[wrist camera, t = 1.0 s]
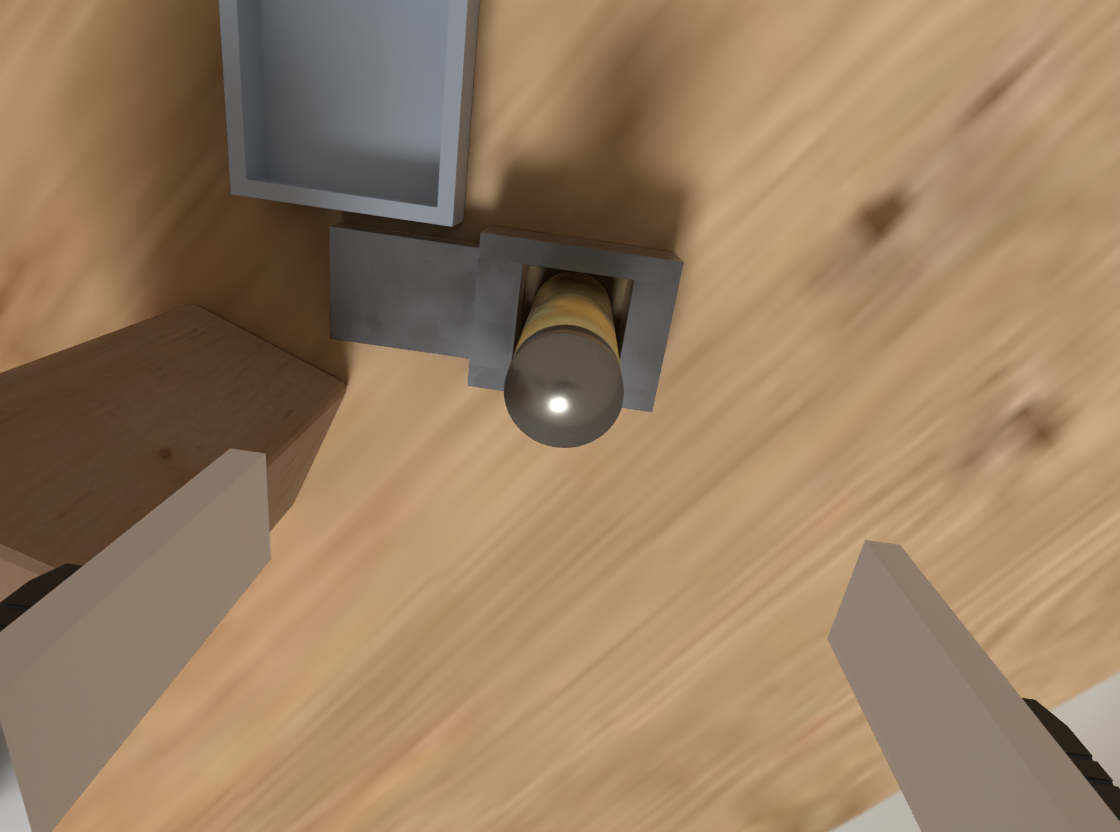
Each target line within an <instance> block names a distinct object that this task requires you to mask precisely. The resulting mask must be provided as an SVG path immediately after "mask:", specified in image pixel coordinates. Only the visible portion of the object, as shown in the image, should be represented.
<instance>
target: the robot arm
mask: <svg viewBox="0 0 1120 832" xmlns="http://www.w3.org/2000/svg"><path fill="white" fill-rule="evenodd" d="M270 559H271V553H270V533H269V513H268V493H267V472H266V453H259V452H252V451H245V450H238V449H231V448H230V449H229V450H228V451H226V452H225V453H224V454H223V455H221V456H220V457H219V458H218V459H216V460H215V461H214V462H213V463H211V464H210V465H209V466H208V467H206V468H205V469H204V470H203V471H201V472H200V473H199V474H198V475H196V476H195V477H194V478H193V479H191V480H190V481H189V482H188V483H186V484H185V485H184V486H183V487H181V488H180V489H179V490H178V491H176V492H175V493H174V494H173V495H171V496H170V497H169V498H168V499H166V500H165V501H164V502H163V503H161V504H160V505H159V506H158V507H156V508H155V509H154V510H153V511H151V512H150V513H149V514H147V515H146V516H145V517H144V518H142V519H141V520H140V521H139V522H137V523H136V524H135V525H134V526H132V527H131V528H130V529H129V530H127V531H126V532H125V533H124V534H122V535H121V536H120V537H119V538H117V539H116V540H115V541H114V542H112V543H111V544H110V545H109V546H107V547H106V548H105V549H104V550H102V551H101V552H100V553H99V554H97V555H96V556H95V557H94V558H92V559H91V560H90V561H89V562H87V563H86V564H85V565H84V566H82V565H75V564H68V563H66V564H64V565H62V566H60V567H57V568H55V569H53V570H51V571H49V572H47V573H44V574H42V575H40V576H38V577H36V578H34V579H31V580H29V581H28V582H27V583H25V584H24V585H23V586H21V587H20V588H19V589H17V590H16V591H15V592H13V593H12V594H11V595H9V596H8V597H7V598H5V599H4V600H3V601H1V602H0V832H51V831H52V830H53V829H54V828H55V826H56V825H57V824H58V823H59V822H60V820H61V819H62V818H63V817H64V815H65V814H66V813H67V812H68V810H69V809H70V808H71V807H72V805H73V804H74V803H75V802H76V800H77V799H78V798H79V797H80V795H81V794H82V793H83V792H84V790H85V789H86V788H87V787H88V785H89V784H90V783H91V782H92V781H93V779H94V778H95V777H96V776H97V774H98V773H99V772H100V771H101V769H102V768H103V767H104V766H105V764H106V763H107V762H108V761H109V759H110V758H111V757H112V756H113V754H114V753H115V752H116V751H117V749H118V748H119V747H120V746H121V745H122V743H123V742H124V741H125V740H126V738H127V737H128V736H129V735H130V733H131V732H132V731H133V730H134V728H135V727H136V726H137V725H138V723H139V722H140V721H141V720H142V718H143V717H144V716H145V715H146V713H147V712H148V711H149V710H150V708H151V707H152V706H153V705H154V704H155V702H156V701H157V700H158V699H159V697H160V696H161V695H162V694H163V692H164V691H165V690H166V689H167V687H168V686H169V685H170V684H171V682H172V681H173V680H174V679H175V677H176V676H177V675H178V674H179V672H180V671H181V670H182V669H183V668H184V666H185V665H186V664H187V663H188V661H189V660H190V659H191V658H192V656H193V655H194V654H195V653H196V651H197V650H198V649H199V648H200V646H201V645H202V644H203V643H204V641H205V640H206V639H207V638H208V636H209V635H210V634H211V633H212V631H213V630H214V629H215V628H216V627H217V625H218V624H219V623H220V622H221V620H222V619H223V618H224V617H225V615H226V614H227V613H228V612H229V610H230V609H231V608H232V607H233V605H234V604H235V603H236V602H237V600H238V599H239V598H240V597H241V595H242V594H243V593H244V592H245V591H246V589H247V588H248V587H249V586H250V584H251V583H252V582H253V581H254V579H255V578H256V577H257V576H258V574H259V573H260V572H261V571H262V569H263V568H264V567H265V566H266V564H267V563H268V562H269V561H270ZM828 641H829V643H830V645H831V647H832V649H833V651H834V653H835V655H836V657H837V659H838V661H839V664H840V666H841V668H842V670H843V672H844V674H845V676H846V678H847V680H848V682H849V684H850V686H851V688H852V690H853V692H854V694H855V696H856V698H857V700H858V702H859V704H860V707H861V709H862V711H863V713H864V715H865V717H866V719H867V721H868V723H869V725H870V727H871V729H872V731H873V733H874V735H875V737H876V739H877V741H878V743H879V745H880V747H881V750H882V752H883V754H884V756H885V758H886V760H887V762H888V764H889V766H890V768H891V770H892V772H893V774H894V776H895V778H896V780H897V782H898V784H899V786H900V788H901V790H902V793H903V795H904V796H905V799H906V801H907V802H908V805H909V807H910V809H911V811H912V813H913V815H914V817H915V819H916V821H917V823H918V825H919V827H920V829H921V831H922V832H1120V789H1119V787H1117V786H1114V785H1113V783H1112V781H1113V780H1112V779H1111V778H1110V776H1109V775H1108V774H1107V773H1106V772H1105V771H1104V769H1103V768H1102V767H1101V766H1100V764H1099V763H1098V762H1095V761H1093V760H1092V755H1091V754H1090V752H1089V751H1088V750H1087V749H1086V748H1085V746H1084V745H1083V744H1082V743H1081V742H1080V741H1079V739H1078V738H1077V737H1076V736H1075V735H1074V733H1073V732H1072V731H1071V730H1070V729H1069V727H1068V726H1066V725H1065V724H1064V723H1063V722H1062V721H1060V720H1059V719H1058V718H1057V717H1056V716H1054V715H1053V714H1052V713H1051V712H1049V711H1048V710H1047V709H1046V708H1045V707H1043V706H1042V705H1041V704H1040V703H1038V702H1037V701H1036V700H1033V699H1026V698H1021V697H1020V695H1019V694H1018V693H1017V692H1016V690H1015V689H1014V688H1013V687H1012V685H1011V684H1010V683H1009V681H1008V680H1007V679H1006V678H1005V676H1004V675H1003V674H1002V673H1001V671H1000V670H999V669H998V668H997V666H996V665H995V664H994V663H993V661H992V660H991V659H990V658H989V656H988V655H987V654H986V653H985V651H984V650H983V649H982V648H981V646H980V645H979V644H978V642H977V641H976V640H975V639H974V637H973V636H972V635H971V634H970V632H969V631H968V630H967V629H966V627H965V626H964V625H963V624H962V622H961V621H960V620H959V619H958V617H957V616H956V615H955V614H954V612H953V611H952V610H951V609H950V607H949V606H948V605H947V603H946V602H945V601H944V600H943V598H942V597H941V596H940V595H939V593H938V592H937V591H936V590H935V588H934V587H933V586H932V585H931V583H930V582H929V581H928V580H927V578H926V577H925V576H924V575H923V573H922V572H921V571H920V570H919V568H918V567H917V566H916V564H915V563H914V562H913V561H912V559H911V558H910V557H909V556H908V554H907V553H906V552H905V551H904V549H903V548H902V547H901V546H900V545H896V544H889V543H882V542H875V541H869V540H865V542H864V545H863V547H862V550H861V553H860V555H859V558H858V560H857V563H856V566H855V568H854V571H853V573H852V576H851V579H850V581H849V584H848V586H847V589H846V592H845V594H844V597H843V599H842V602H841V605H840V607H839V610H838V613H837V615H836V618H835V620H834V623H833V626H832V628H831V631H830V633H829V636H828Z"/></svg>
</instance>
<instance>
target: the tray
mask: <svg viewBox="0 0 1120 832" xmlns="http://www.w3.org/2000/svg"><path fill="white" fill-rule="evenodd" d="M479 5H480V0H219V14H220V30H221V46H222V62H223V78H224V94H225V110H226V126H227V142H228V158H229V174H230V191H231V194H232V195H239V196H246V197H252V198H259V199H266V200H273V201H280V202H287V203H294V204H300V205H307V206H314V207H321V208H328V209H335V210H341V211H348V212H355V213H362V214H369V215H376V216H383V217H389V218H396V219H403V220H410V221H417V222H424V223H431V224H437V225H444V226H451V227H453V226H455V225H457V224H459V223H461V222H463V221H464V207H465V194H466V180H467V167H468V153H469V140H470V126H471V113H472V99H473V86H474V72H475V59H476V45H477V32H478V18H479Z"/></svg>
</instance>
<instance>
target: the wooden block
mask: <svg viewBox="0 0 1120 832" xmlns="http://www.w3.org/2000/svg"><path fill="white" fill-rule="evenodd" d="M345 393H346V385H345V384H344V383H343V382H342V381H340V380H338V379H336V378H334V377H332V376H331V375H329V374H327V373H325V372H323V371H321V370H319V369H317V368H315V367H313V366H312V365H310V364H308V363H306V362H304V361H302V360H300V359H298V358H296V357H294V356H293V355H291V354H289V353H287V352H285V351H283V350H281V349H279V348H277V347H275V346H273V345H272V344H270V343H268V342H266V341H264V340H262V339H260V338H258V337H256V336H254V335H253V334H251V333H249V332H247V331H245V330H243V329H241V328H239V327H237V326H235V325H234V324H232V323H230V322H228V321H226V320H224V319H222V318H220V317H218V316H216V315H214V314H213V313H211V312H209V311H207V310H205V309H203V308H201V307H199V306H197V305H191V304H188V305H186V306H183V307H180V308H177V309H175V310H172V311H169V312H166V313H164V314H161V315H158V316H155V317H153V318H150V319H147V320H144V321H142V322H139V323H136V324H134V325H131V326H128V327H125V328H123V329H120V330H117V331H114V332H112V333H109V334H106V335H103V336H101V337H98V338H95V339H92V340H90V341H87V342H84V343H82V344H79V345H76V346H73V347H71V348H68V349H65V350H62V351H60V352H57V353H54V354H51V355H49V356H46V357H43V358H40V359H38V360H35V361H32V362H29V363H27V364H24V365H21V366H19V367H16V368H13V369H10V370H8V371H5V372H2V373H0V602H1V601H3V600H4V599H5V598H7V597H8V596H9V595H11V594H12V593H13V592H15V591H16V590H17V589H19V588H20V587H21V586H23V585H24V584H25V583H27V582H28V581H29V580H31V579H34V578H36V577H38V576H40V575H42V574H44V573H47V572H49V571H51V570H53V569H55V568H57V567H60V566H62V565H64V564H66V563H68V564H75V565H82V566H84V565H85V564H86V563H87V562H89V561H90V560H91V559H92V558H94V557H95V556H96V555H97V554H99V553H100V552H101V551H102V550H104V549H105V548H106V547H107V546H109V545H110V544H111V543H112V542H114V541H115V540H116V539H117V538H119V537H120V536H121V535H122V534H124V533H125V532H126V531H127V530H129V529H130V528H131V527H132V526H134V525H135V524H136V523H137V522H139V521H140V520H141V519H142V518H144V517H145V516H146V515H147V514H149V513H150V512H151V511H153V510H154V509H155V508H156V507H158V506H159V505H160V504H161V503H163V502H164V501H165V500H166V499H168V498H169V497H170V496H171V495H173V494H174V493H175V492H176V491H178V490H179V489H180V488H181V487H183V486H184V485H185V484H186V483H188V482H189V481H190V480H191V479H193V478H194V477H195V476H196V475H198V474H199V473H200V472H201V471H203V470H204V469H205V468H206V467H208V466H209V465H210V464H211V463H213V462H214V461H215V460H216V459H218V458H219V457H220V456H221V455H223V454H224V453H225V452H226V451H228V450H229V449H230V448H231V449H238V450H245V451H252V452H259V453H266V472H267V493H268V513H269V532H270V531H271V530H272V529H273V527H274V526H275V525H276V524H277V523H278V522H279V520H280V519H281V518H282V517H283V516H284V515H285V513H286V512H287V511H288V510H289V509H290V508H291V506H292V505H293V503H294V501H295V499H296V497H297V495H298V493H299V491H300V488H301V486H302V484H303V482H304V480H305V478H306V476H307V474H308V471H309V469H310V467H311V465H312V463H313V461H314V459H315V456H316V454H317V452H318V450H319V448H320V446H321V444H322V442H323V439H324V437H325V435H326V433H327V431H328V429H329V427H330V425H331V422H332V420H333V418H334V416H335V414H336V412H337V410H338V408H339V405H340V403H341V401H342V399H343V397H344V395H345Z"/></svg>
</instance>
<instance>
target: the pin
mask: <svg viewBox="0 0 1120 832" xmlns="http://www.w3.org/2000/svg"><path fill="white" fill-rule="evenodd" d="M623 398H624V385H623V379H622V373H621V366H620V360H619V354H618V347H617V341H616V335H615V328H614V322H613V316H612V309H611V303H610V299H609V296H608V294H607V292H606V290H605V288H604V287H603V286H602V285H601V283H599V282H598V281H597V280H596V279H595V278H593V277H591V276H589V275H587V274H585V273H581V272H574V271H571V272H563V273H560V274H557V275H555V276H553V277H551V278H550V279H548V280H547V281H546V282H545V283H544V284H543V285H542V286H541V288H540V289H539V291H538V293H537V295H536V297H535V300H534V303H533V305H532V308H531V310H530V313H529V316H528V318H527V321H526V324H525V326H524V329H523V332H522V334H521V337H520V340H519V342H518V345H517V347H516V350H515V353H514V355H513V358H512V361H511V363H510V366H509V369H508V371H507V374H506V377H505V383H504V399H505V403H506V407H507V410H508V412H509V414H510V416H511V418H512V420H513V421H514V423H515V424H516V425H517V427H518V428H519V429H520V430H521V431H522V432H523V433H525V434H526V435H527V436H529V437H530V438H532V439H533V440H535V441H537V442H539V443H542V444H545V445H548V446H552V447H559V448H571V447H577V446H581V445H585V444H587V443H590V442H592V441H594V440H596V439H597V438H599V437H600V436H602V435H603V434H604V433H606V432H607V431H608V430H609V429H610V428H611V426H612V425H613V424H614V422H615V421H616V419H617V417H618V416H619V413H620V411H621V408H622V404H623Z"/></svg>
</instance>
